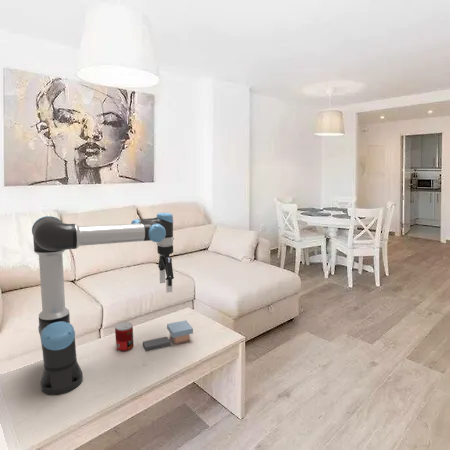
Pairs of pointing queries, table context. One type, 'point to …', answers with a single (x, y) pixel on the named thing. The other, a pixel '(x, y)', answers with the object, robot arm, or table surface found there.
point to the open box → (180, 339)
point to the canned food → (124, 336)
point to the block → (156, 343)
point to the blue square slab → (179, 328)
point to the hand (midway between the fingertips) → (165, 287)
